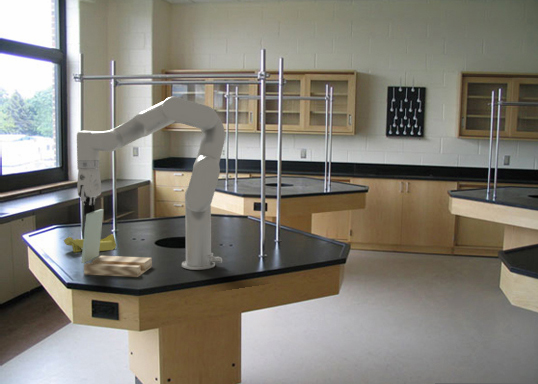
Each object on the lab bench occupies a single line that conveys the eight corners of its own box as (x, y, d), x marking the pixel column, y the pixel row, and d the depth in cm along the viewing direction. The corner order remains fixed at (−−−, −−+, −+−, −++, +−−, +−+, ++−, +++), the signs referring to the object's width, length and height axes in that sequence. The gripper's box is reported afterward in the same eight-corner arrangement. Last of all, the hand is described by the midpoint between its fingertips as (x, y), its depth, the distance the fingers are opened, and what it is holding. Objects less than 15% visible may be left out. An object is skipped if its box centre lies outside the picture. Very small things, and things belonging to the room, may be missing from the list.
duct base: (151, 266, 205) (151, 257, 204) (138, 276, 191) (137, 267, 190) (101, 264, 207) (101, 255, 207) (84, 274, 193) (83, 264, 193)
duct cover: (103, 209, 203) (101, 208, 203) (88, 214, 191) (86, 214, 192) (98, 255, 206) (96, 255, 206) (83, 263, 194) (81, 263, 194)
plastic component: (103, 239, 242) (114, 232, 235) (106, 255, 240) (117, 249, 233) (60, 242, 227) (70, 235, 221) (62, 259, 226) (73, 253, 219)
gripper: (88, 167, 188) (89, 219, 190) (107, 164, 203) (108, 212, 205) (68, 166, 189) (69, 218, 191) (88, 163, 204) (89, 212, 206)
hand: (89, 215), depth 198 cm, fingers closed
